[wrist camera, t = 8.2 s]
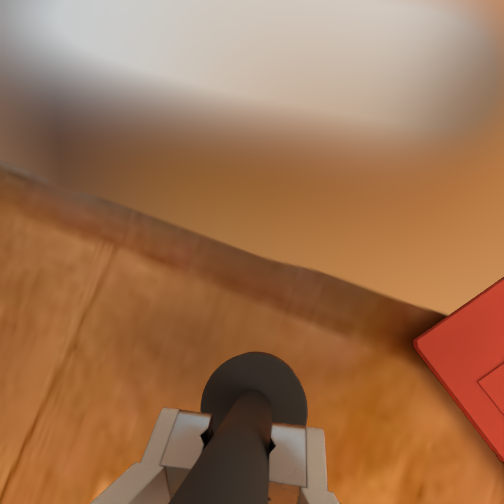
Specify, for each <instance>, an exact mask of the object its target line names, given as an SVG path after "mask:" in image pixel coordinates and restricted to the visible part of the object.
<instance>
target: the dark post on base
mask: <svg viewBox="0 0 504 504" xmlns="http://www.w3.org/2000/svg"><path fill="white" fill-rule="evenodd" d="M200 410H201V413H208V414H213V420H214V421H213V426H212V429H213V430H214V435H213V437H212V438H211V440H210V441H209V443H208V444H207V446H206V447H205V449H204V450H203V452H202V453H201V455H200V456H199V458H198V459H197V461H196V463H195V464H194V466H193V467H192V469H191V470H190V472H189V473H188V475H187V476H186V478H185V479H184V481H183V482H182V484H181V485H180V487H179V488H178V490H177V491H176V493H175V494H174V496H173V497H172V499H171V500H170V502H169V503H168V504H268V489H269V466H268V463H269V454H270V452H269V444H270V435H271V425H272V422H276V423H285V424H294V425H302V426H305V427H306V423H307V400H306V396H305V393H304V390H303V387H302V385H301V383H300V381H299V379H298V378H297V376H296V375H295V373H294V372H293V370H292V369H291V368H290V367H289V366H288V365H287V364H286V363H285V362H284V361H283V360H281V359H280V358H278V357H276V356H274V355H272V354H269V353H265V352H248V353H244V354H241V355H238V356H236V357H233V358H231V359H229V360H227V361H226V362H224V363H223V364H222V365H220V366H219V367H218V368H217V369H216V370H215V372H214V373H213V374H212V375H211V377H210V378H209V380H208V382H207V384H206V386H205V388H204V391H203V394H202V399H201V409H200Z"/></svg>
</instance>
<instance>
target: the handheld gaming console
mask: <svg viewBox="0 0 504 504" xmlns="http://www.w3.org/2000/svg"><path fill="white" fill-rule="evenodd" d="M413 346H414V348H415V350H416V351H417V352H418V354H419V355H420V356H421V358H422V359H423V360H424V362H425V363H426V364H427V365H428V367H429V368H430V369H431V371H432V372H433V373H434V375H435V376H436V377H437V379H438V380H439V381H440V383H441V384H442V385H443V386H444V388H445V389H446V390H447V392H448V393H449V394H450V396H451V397H452V398H453V400H454V401H455V402H456V404H457V405H458V406H459V408H460V409H461V410H462V411H463V413H464V414H465V415H466V417H467V418H468V419H469V421H470V422H471V423H472V425H473V426H474V427H475V429H476V430H477V431H478V432H479V434H480V435H481V436H482V438H483V439H484V440H485V442H486V443H487V444H488V446H489V447H490V448H491V450H492V451H494V452H496V453H497V457H498V459H499V460H500V461H502V462H504V277H503V278H501V279H500V280H499V281H497V282H496V283H494V284H493V285H491V286H490V287H489V288H487V289H486V290H484V291H483V292H481V293H480V294H479V295H477V296H476V297H475V298H473V299H471V300H470V301H469V302H467V303H466V304H464V305H463V306H462V307H460V308H459V309H457V310H456V311H454V312H453V313H451V314H450V315H449V316H447V317H446V318H444V319H443V320H441V321H440V322H439V323H437V324H436V325H434V326H433V327H431V328H430V329H429V330H427V331H426V332H424V333H423V334H422V335H420V336H419V337H417V338H416V339H414V340H413Z"/></svg>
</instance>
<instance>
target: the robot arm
mask: <svg viewBox="0 0 504 504" xmlns="http://www.w3.org/2000/svg"><path fill="white" fill-rule="evenodd" d="M213 421H214V420H213V414H208V413H201V412H193V411H186V410H181V409H174V408H166V407H163V409H162V410H161V412H160V413H159V416H158V419H157V421H156V424H155V426H154V429H153V431H152V434H151V437H150V439H149V442H148V444H147V447H146V449H145V452H144V455H143V457H142V460H141V462H140V463H138V462H135V463H134V464H133V465H132V466H131V467H130V468H128V469H127V470H126V471H125V472H124V473H123V474H122V475H121V476H120V477H119V478H117V479H116V480H115V481H114V482H113V483H112V484H111V485H110V486H109V487H108V488H106V489H105V490H104V491H103V492H102V493H101V494H100V495H99V496H98V497H97V498H95V499H94V500H93V501H92V502H91V503H90V504H168V503H169V502H170V500H171V499H172V497H173V496H174V494H175V493H176V491H177V490H178V488H179V487H180V485H181V484H182V482H183V481H184V479H185V478H186V476H187V475H188V473H189V472H190V470H191V469H192V467H193V466H194V464H195V463H196V461H197V459H198V458H199V456H200V455H201V453H202V452H203V450H204V449H205V447H206V446H207V444H208V443H209V441H210V440H211V438H212V437H213V435H214V430H213V429H212V426H213ZM269 452H270V454H269V463H268V466H269V489H268V504H340V503H339V501H338V500H337V498H336V496H335V494H334V493H333V492H330V491H328V487H327V469H326V451H325V434H324V431H323V428H315V427H307V426H306V427H305V426H302V425H294V424H285V423H276V422H272V425H271V435H270V444H269Z"/></svg>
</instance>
